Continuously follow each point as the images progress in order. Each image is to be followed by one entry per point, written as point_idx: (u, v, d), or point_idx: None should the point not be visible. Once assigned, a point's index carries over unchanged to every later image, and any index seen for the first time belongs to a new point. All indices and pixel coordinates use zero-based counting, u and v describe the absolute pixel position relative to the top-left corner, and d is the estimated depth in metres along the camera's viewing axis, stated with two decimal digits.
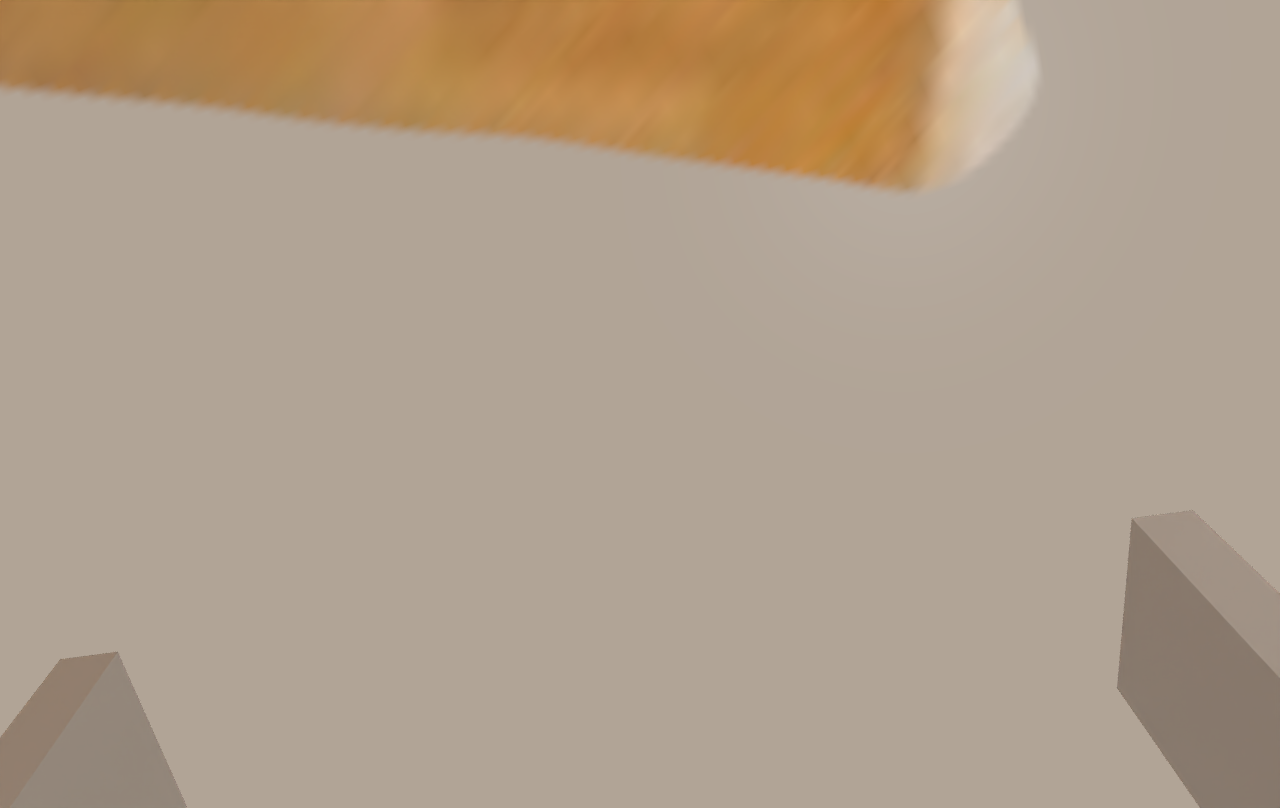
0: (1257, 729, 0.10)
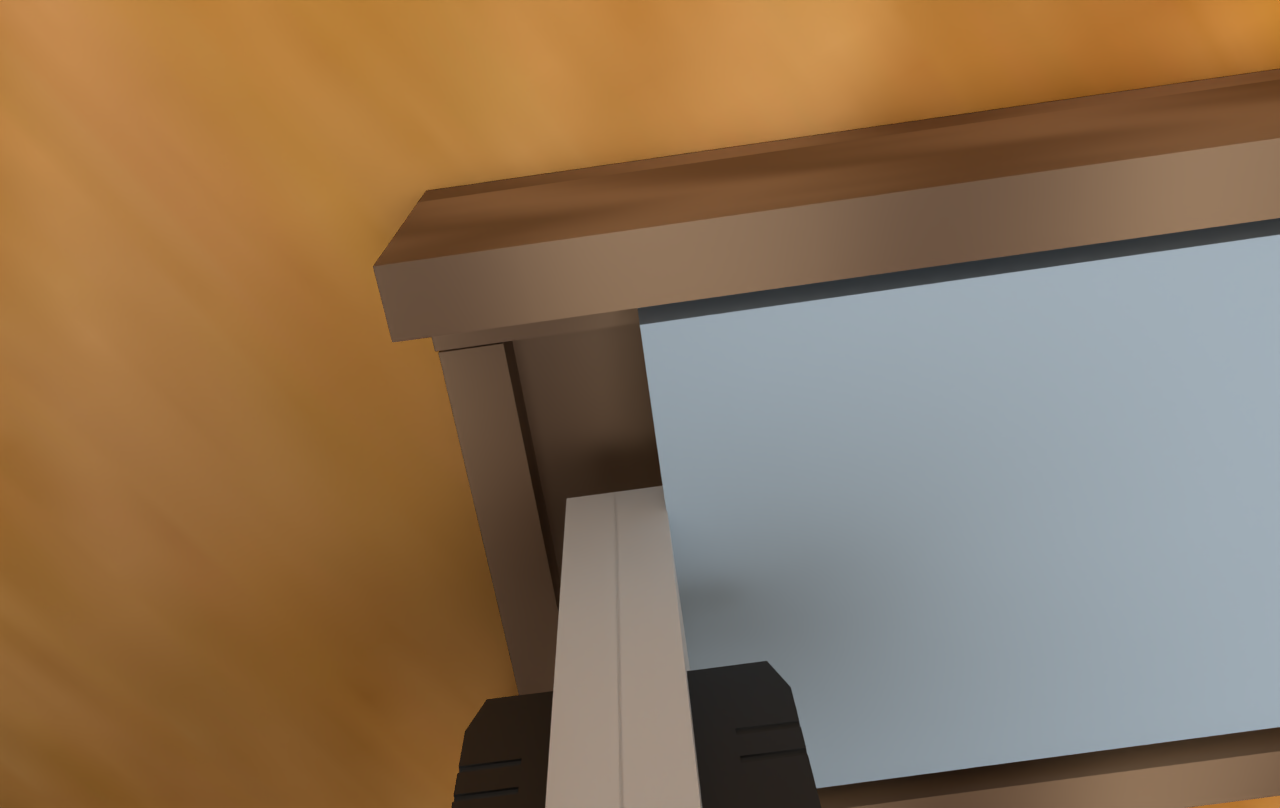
0: None
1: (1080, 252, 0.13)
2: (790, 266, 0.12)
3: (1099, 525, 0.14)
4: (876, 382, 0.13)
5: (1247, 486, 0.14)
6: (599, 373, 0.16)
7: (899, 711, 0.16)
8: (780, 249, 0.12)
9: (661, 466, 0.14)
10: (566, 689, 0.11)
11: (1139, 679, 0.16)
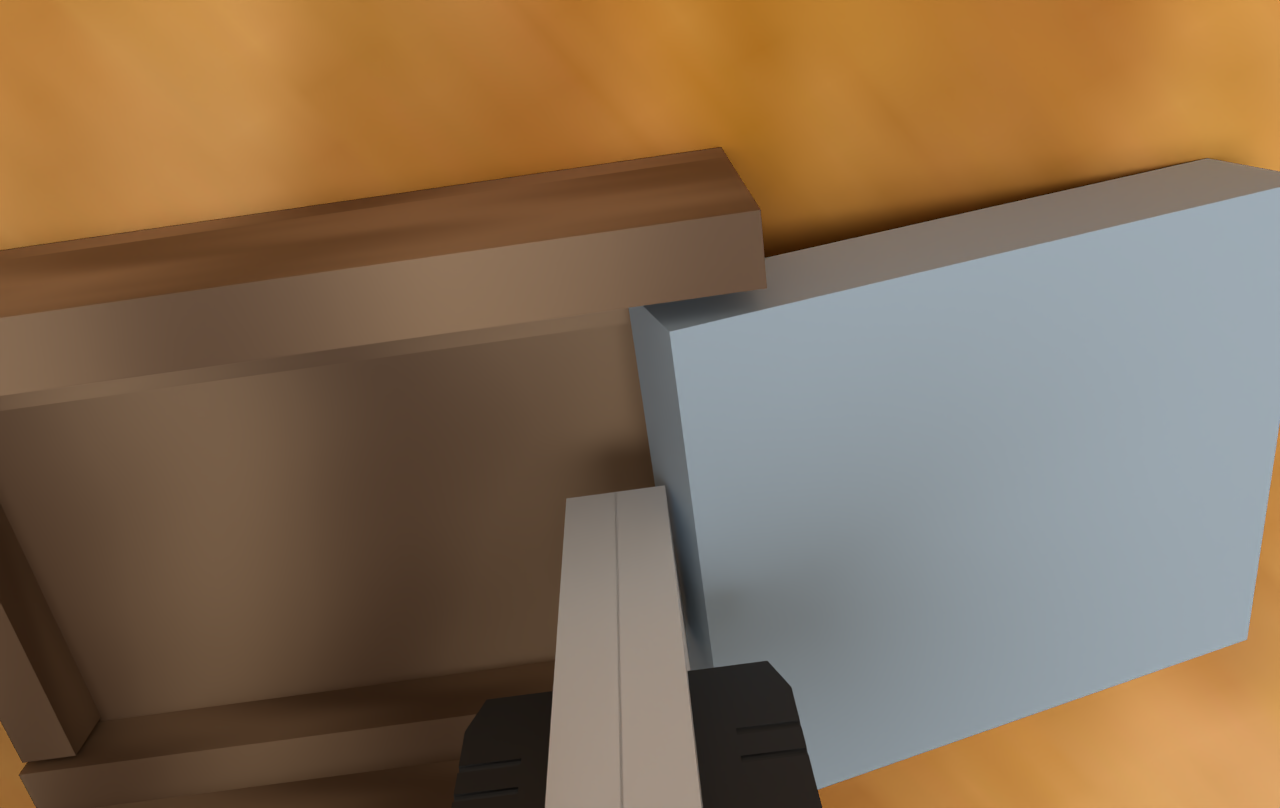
0: None
1: (1053, 230, 0.14)
2: (61, 367, 0.12)
3: (1076, 484, 0.15)
4: (889, 368, 0.14)
5: (1192, 433, 0.16)
6: (55, 448, 0.17)
7: (909, 691, 0.16)
8: (45, 351, 0.12)
9: (690, 476, 0.13)
10: (566, 689, 0.11)
11: (1109, 624, 0.17)
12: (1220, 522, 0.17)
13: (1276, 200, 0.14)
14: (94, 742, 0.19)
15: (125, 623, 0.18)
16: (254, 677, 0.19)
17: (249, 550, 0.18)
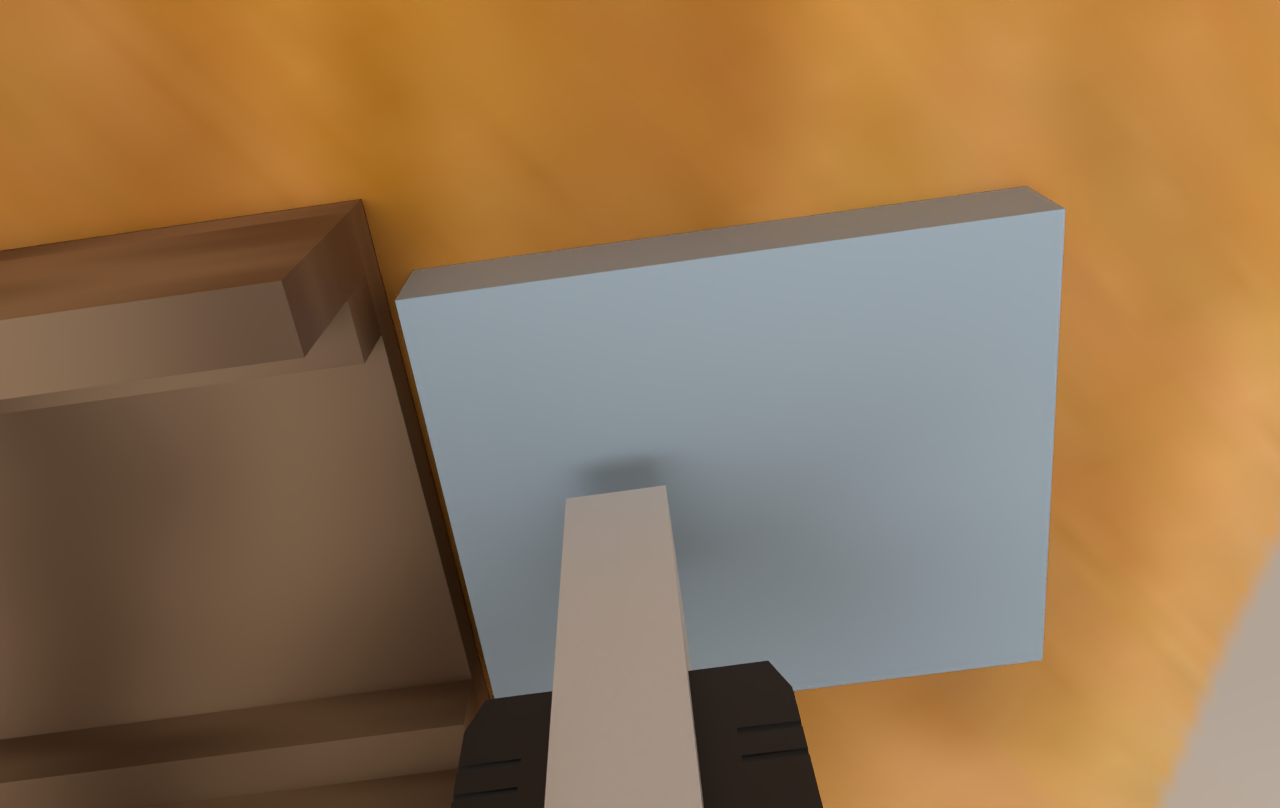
0: None
1: (780, 240, 0.15)
2: None
3: (819, 479, 0.16)
4: (607, 352, 0.15)
5: (947, 446, 0.16)
6: None
7: None
8: None
9: (427, 424, 0.16)
10: (565, 689, 0.11)
11: (874, 619, 0.18)
12: (993, 538, 0.17)
13: (1019, 227, 0.15)
14: None
15: None
16: None
17: None
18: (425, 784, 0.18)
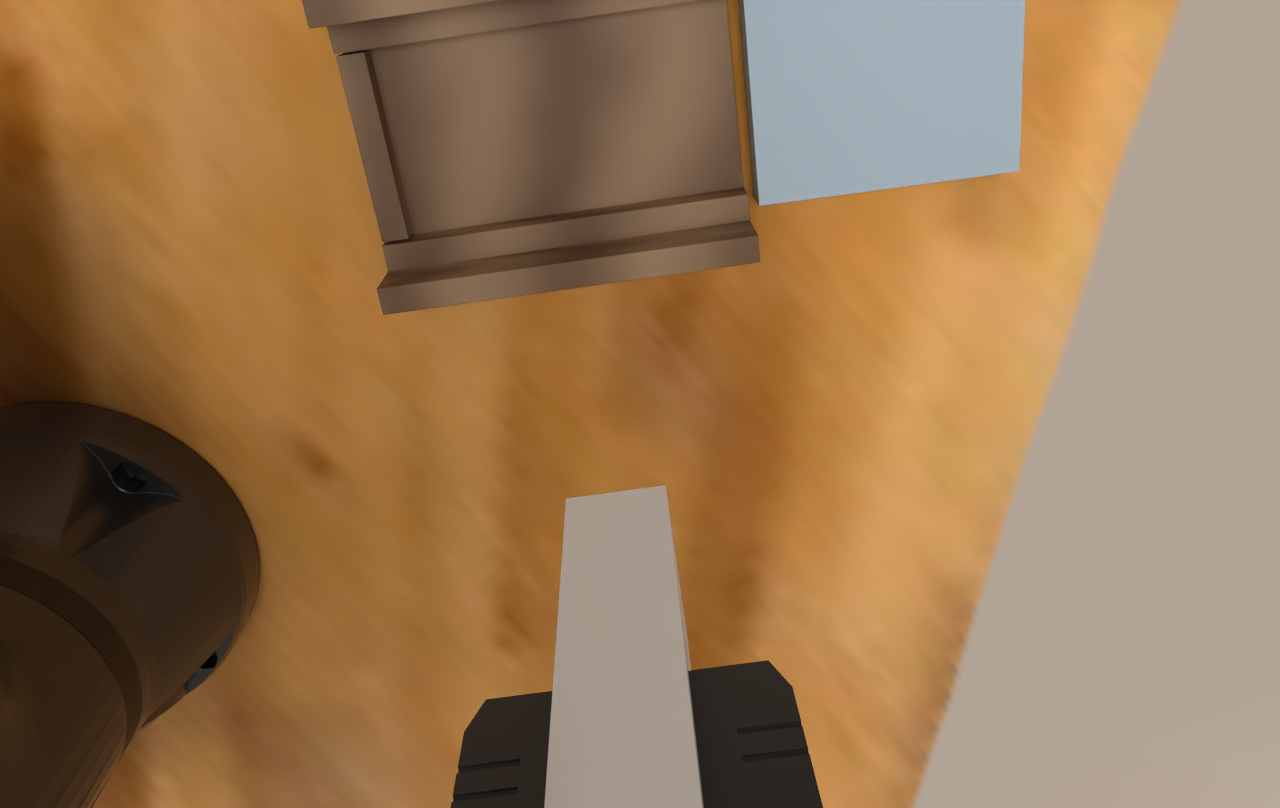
0: None
1: None
2: None
3: (918, 65, 0.36)
4: None
5: (976, 48, 0.36)
6: (413, 77, 0.36)
7: (840, 158, 0.37)
8: None
9: (746, 32, 0.35)
10: (565, 689, 0.11)
11: (940, 144, 0.37)
12: (996, 99, 0.37)
13: None
14: (413, 237, 0.38)
15: (432, 175, 0.38)
16: (489, 209, 0.38)
17: (495, 134, 0.37)
18: (728, 225, 0.38)
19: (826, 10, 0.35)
